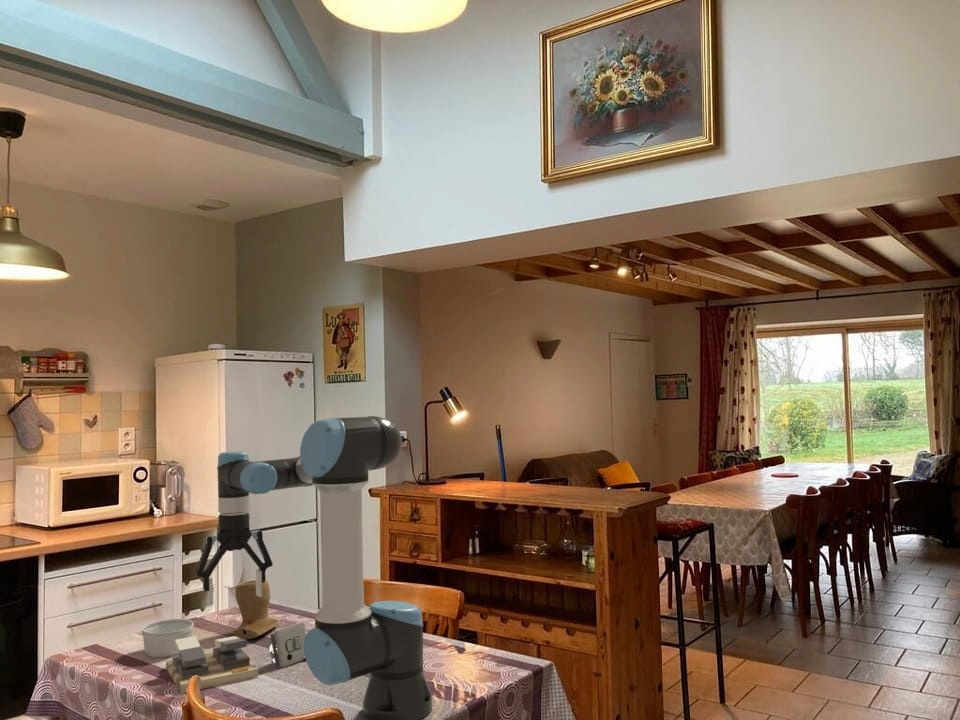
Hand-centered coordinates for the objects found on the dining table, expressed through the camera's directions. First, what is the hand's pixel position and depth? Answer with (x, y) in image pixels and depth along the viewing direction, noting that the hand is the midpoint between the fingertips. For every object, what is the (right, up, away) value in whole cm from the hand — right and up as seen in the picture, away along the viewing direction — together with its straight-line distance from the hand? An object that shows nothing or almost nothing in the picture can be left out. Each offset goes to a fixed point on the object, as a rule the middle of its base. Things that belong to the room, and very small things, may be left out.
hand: (234, 599), depth 197 cm
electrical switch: (+12, -18, +7) cm, 23 cm away
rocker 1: (-10, -13, -2) cm, 17 cm away
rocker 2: (-2, -13, +3) cm, 13 cm away
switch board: (-6, -18, 0) cm, 19 cm away
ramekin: (-24, -20, +17) cm, 35 cm away
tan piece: (-4, -20, +32) cm, 37 cm away
